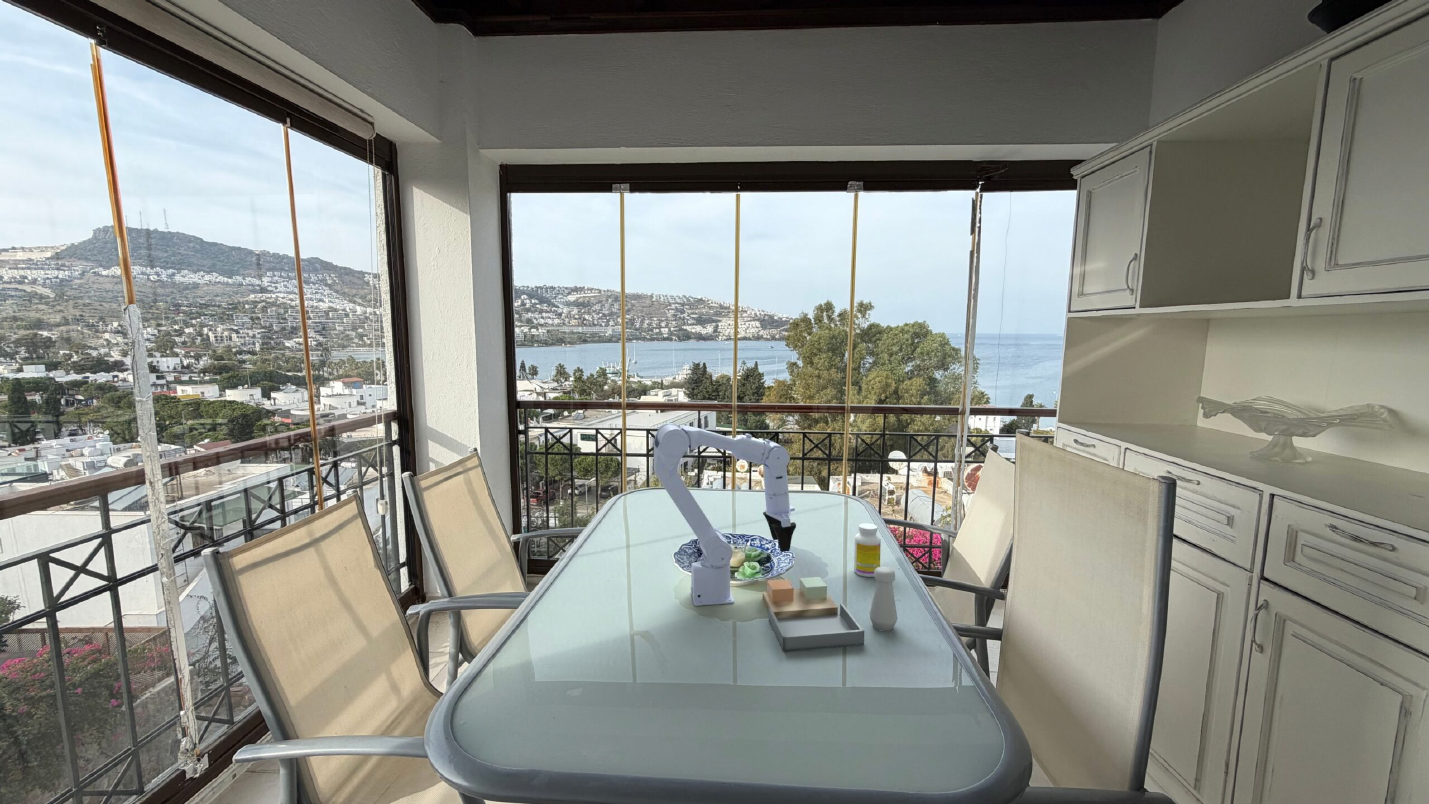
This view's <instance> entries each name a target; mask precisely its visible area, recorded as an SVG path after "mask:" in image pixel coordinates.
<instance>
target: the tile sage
mask: <svg viewBox="0 0 1429 804" xmlns="http://www.w3.org/2000/svg"><path fill="white" fill-rule="evenodd" d="M799 589H800V591H801V593H802V595H803V596H804V598H805V599H806V600H811V599H825V598H827V594H828V585H827V584H826V583H825V581H824V580H823V579H822V578H821V576H814V577H802V578H801V577H800V578H799Z"/></svg>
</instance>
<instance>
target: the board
mask: <svg viewBox="0 0 1429 804" xmlns="http://www.w3.org/2000/svg"><path fill="white" fill-rule="evenodd" d="M762 602H763V604H764V606H765V608H766V609H767V612H768V613H769V609H772V611H773V613H774V614H775V616H776V618H777V619H782V618H795V617H808V616H821V615H834V614H839V609H838V608H839V607H838V606H837V604H836V603H835V602H834V600H833V599H832V597H831V596H830V595H829V593H827V598H825V599H811V600H806V599H805V598H804V596H803V595H802V593H801V591H800V588H798V589H794V596H793V601H783V602H772V601H771V599H770V597H769V595H768V593H767V591H762Z"/></svg>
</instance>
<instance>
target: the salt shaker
mask: <svg viewBox="0 0 1429 804" xmlns="http://www.w3.org/2000/svg"><path fill="white" fill-rule="evenodd" d="M873 578H874V579H875V580H876V584H875V588H874V589H875V590H874V593H873V597H872V601H871V606H870V609H869V620H870V621H871V624H872V627H874V629H876V630H878V631H880V632H890V631H892V630H893V629H894V627H895V625H896V624H897V622H898V612H897V606H896V605H897V604H896V600H895V592H894V586H893V582H894V581H895V580H896V573H895V570H893V569H892V568H891V567H889V566H880V567H878V568H876V569H875V571H874V577H873Z"/></svg>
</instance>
